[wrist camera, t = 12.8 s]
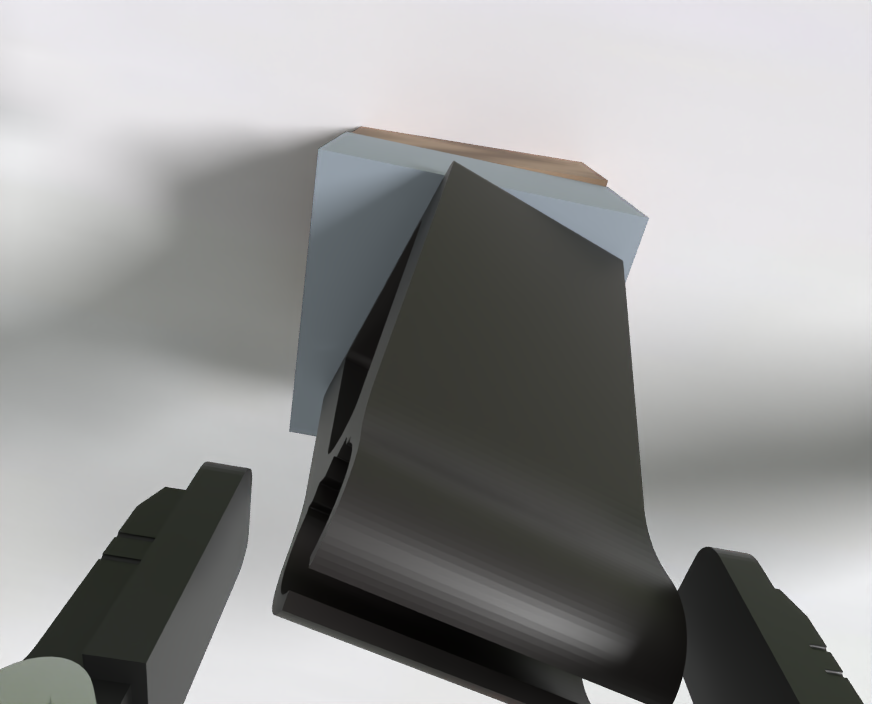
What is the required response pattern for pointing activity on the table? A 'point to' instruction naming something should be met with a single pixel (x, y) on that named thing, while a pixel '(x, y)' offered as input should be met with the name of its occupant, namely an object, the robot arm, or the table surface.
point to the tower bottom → (494, 155)
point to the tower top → (393, 227)
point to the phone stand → (489, 469)
